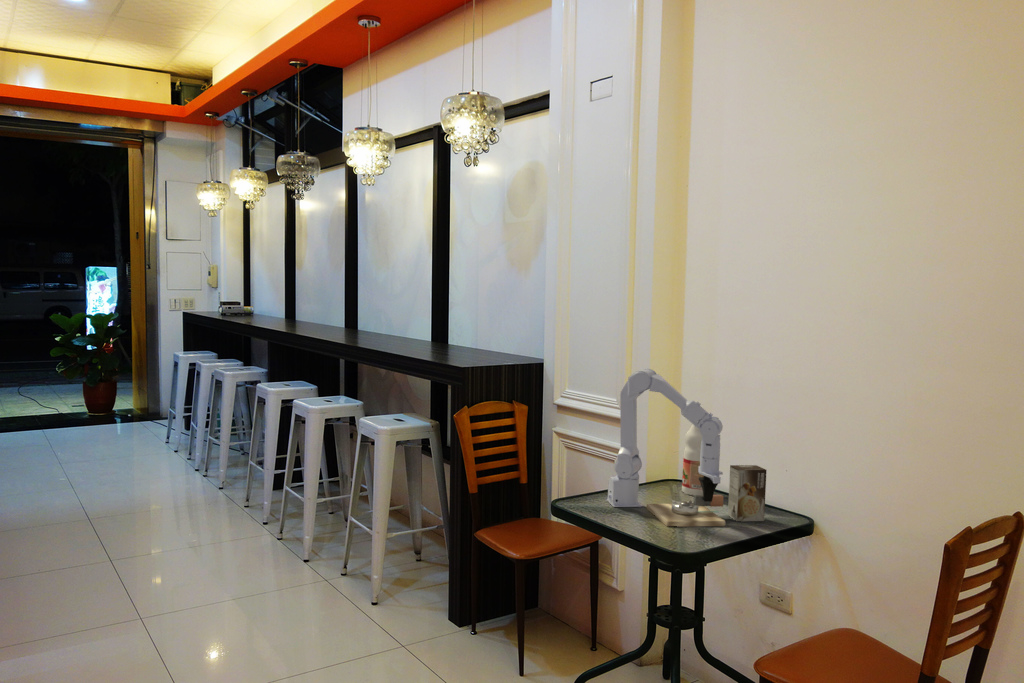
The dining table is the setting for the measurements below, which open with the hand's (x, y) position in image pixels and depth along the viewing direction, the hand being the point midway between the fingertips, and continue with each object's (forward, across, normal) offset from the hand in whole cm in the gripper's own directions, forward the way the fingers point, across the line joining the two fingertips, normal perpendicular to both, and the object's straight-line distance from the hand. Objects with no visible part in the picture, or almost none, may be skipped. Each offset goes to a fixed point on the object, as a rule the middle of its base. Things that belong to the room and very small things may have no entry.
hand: (707, 501), depth 221 cm
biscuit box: (+6, 0, -12) cm, 13 cm away
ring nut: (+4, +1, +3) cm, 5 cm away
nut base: (+5, 0, +7) cm, 9 cm away
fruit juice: (+5, +29, -6) cm, 30 cm away
